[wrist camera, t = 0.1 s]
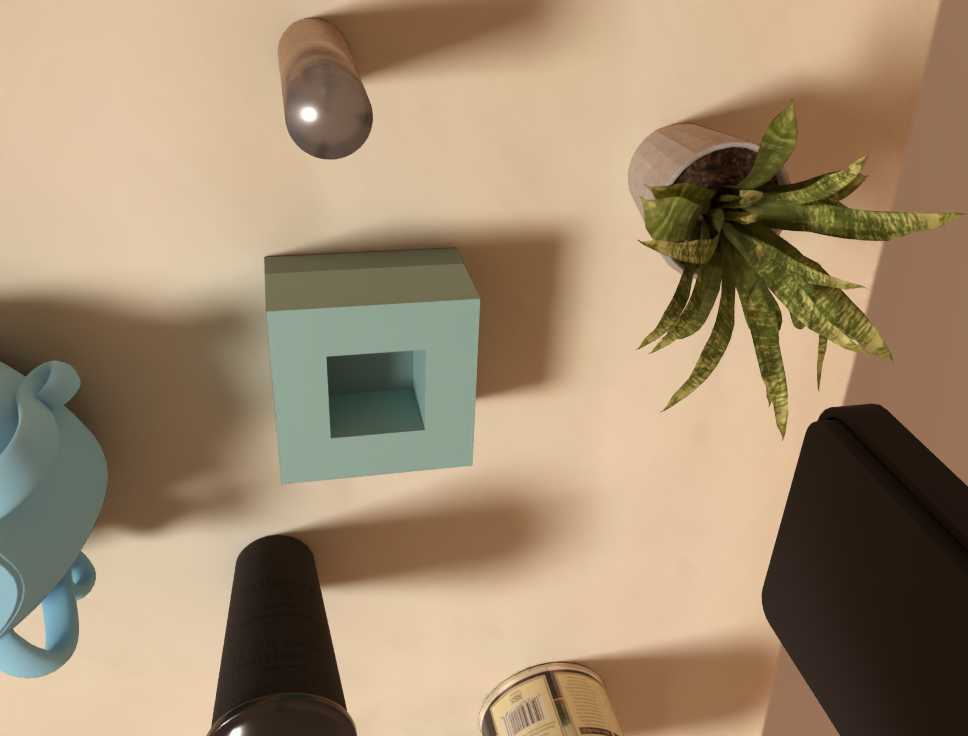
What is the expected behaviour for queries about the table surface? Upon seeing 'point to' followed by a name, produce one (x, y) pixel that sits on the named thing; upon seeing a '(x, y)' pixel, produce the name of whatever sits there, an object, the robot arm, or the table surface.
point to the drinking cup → (278, 649)
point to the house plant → (754, 244)
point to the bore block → (372, 362)
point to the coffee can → (550, 704)
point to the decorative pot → (44, 513)
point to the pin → (322, 91)
